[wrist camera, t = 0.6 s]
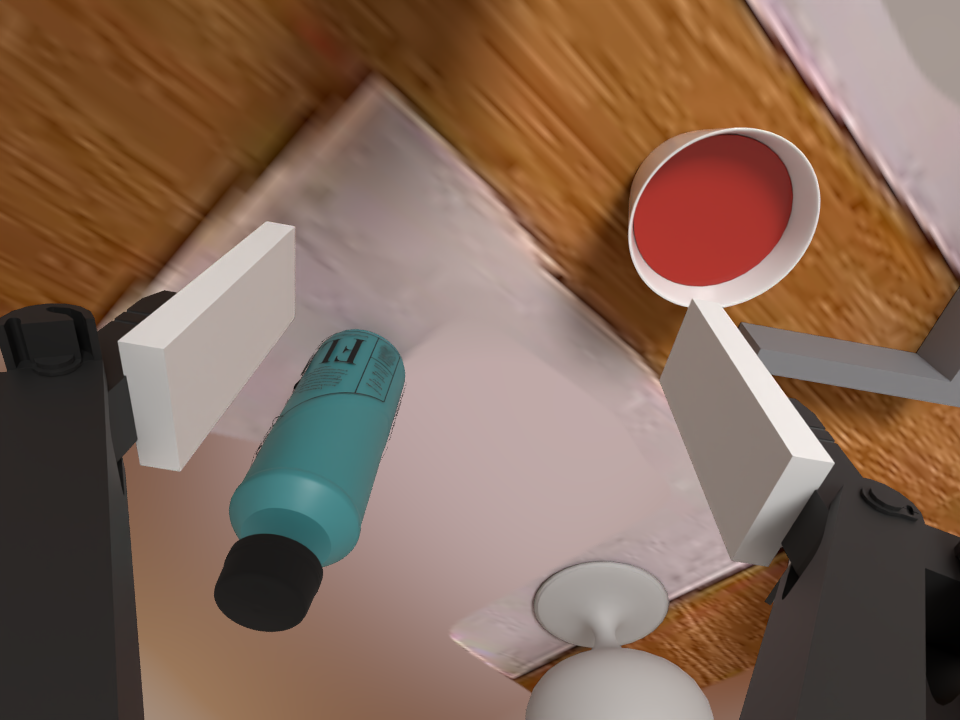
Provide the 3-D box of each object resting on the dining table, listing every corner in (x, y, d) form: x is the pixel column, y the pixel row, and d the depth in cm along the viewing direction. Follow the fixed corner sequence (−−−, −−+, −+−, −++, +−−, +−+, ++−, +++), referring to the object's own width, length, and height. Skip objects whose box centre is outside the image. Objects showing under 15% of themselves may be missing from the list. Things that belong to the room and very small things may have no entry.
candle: (717, 283, 36) (753, 330, 31) (586, 238, 35) (598, 278, 30) (802, 141, 32) (861, 167, 26) (654, 84, 31) (683, 98, 25)
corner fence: (869, 38, 29) (910, 40, 26) (1121, 88, 30) (1190, 96, 27) (731, 343, 38) (749, 370, 35) (925, 377, 39) (960, 407, 36)
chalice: (492, 602, 53) (485, 787, 40) (605, 525, 47) (638, 713, 35) (595, 666, 57) (618, 852, 45) (710, 603, 52) (775, 796, 39)
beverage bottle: (382, 301, 38) (273, 532, 21) (429, 378, 41) (367, 637, 24) (302, 336, 40) (139, 576, 23) (352, 407, 43) (242, 668, 25)
